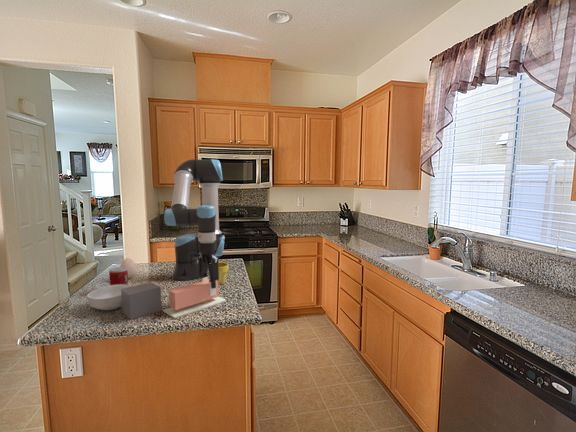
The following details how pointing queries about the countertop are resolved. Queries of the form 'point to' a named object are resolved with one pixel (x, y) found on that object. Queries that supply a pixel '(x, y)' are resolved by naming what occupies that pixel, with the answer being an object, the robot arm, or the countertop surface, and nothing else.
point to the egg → (129, 267)
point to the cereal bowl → (106, 297)
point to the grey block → (141, 299)
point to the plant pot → (222, 272)
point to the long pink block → (191, 294)
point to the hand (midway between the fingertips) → (209, 293)
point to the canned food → (118, 276)
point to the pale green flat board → (193, 307)
